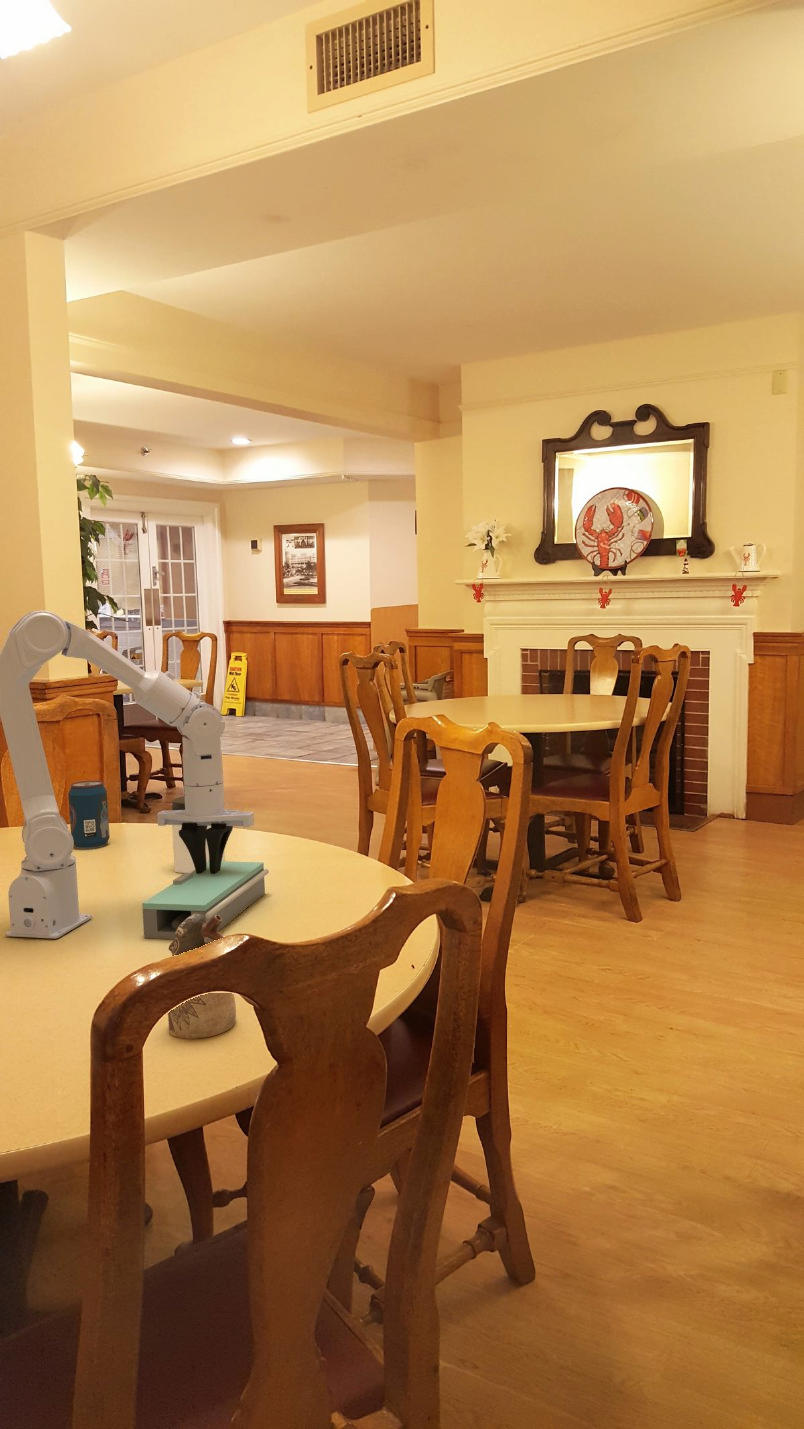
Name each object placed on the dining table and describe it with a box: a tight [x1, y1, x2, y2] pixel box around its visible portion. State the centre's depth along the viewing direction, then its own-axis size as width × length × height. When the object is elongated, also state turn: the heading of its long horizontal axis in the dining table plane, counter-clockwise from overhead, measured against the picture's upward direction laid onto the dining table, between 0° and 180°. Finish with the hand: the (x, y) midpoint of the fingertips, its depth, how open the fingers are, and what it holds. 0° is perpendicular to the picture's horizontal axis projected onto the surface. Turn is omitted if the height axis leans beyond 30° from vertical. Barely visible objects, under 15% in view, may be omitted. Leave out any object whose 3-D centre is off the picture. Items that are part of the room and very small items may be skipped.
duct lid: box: [141, 861, 265, 911], centre depth 143 cm, size 22×9×1 cm, turn 167°
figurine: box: [167, 914, 237, 1040], centre depth 105 cm, size 7×7×12 cm
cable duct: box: [142, 867, 270, 941], centre depth 143 cm, size 22×10×4 cm, turn 167°
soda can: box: [67, 780, 111, 850], centre depth 187 cm, size 7×7×12 cm
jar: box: [171, 795, 226, 874], centre depth 169 cm, size 9×8×12 cm
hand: (208, 873), depth 148 cm, fingers closed on duct lid, 2 cm apart
